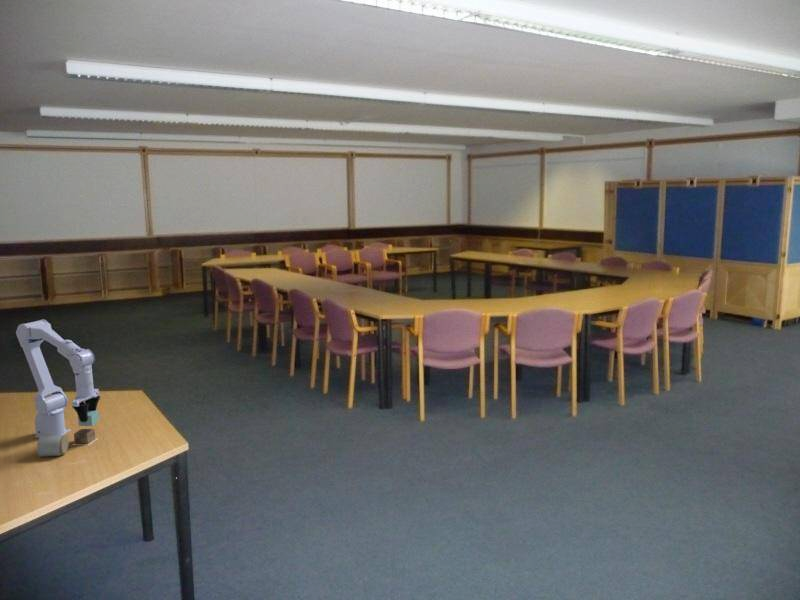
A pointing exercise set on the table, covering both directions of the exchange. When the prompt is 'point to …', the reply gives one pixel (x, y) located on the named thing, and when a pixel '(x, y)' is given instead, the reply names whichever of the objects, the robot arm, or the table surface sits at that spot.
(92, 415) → the teal block
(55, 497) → the table surface
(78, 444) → the mat
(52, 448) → the ceramic mug
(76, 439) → the walnut block
